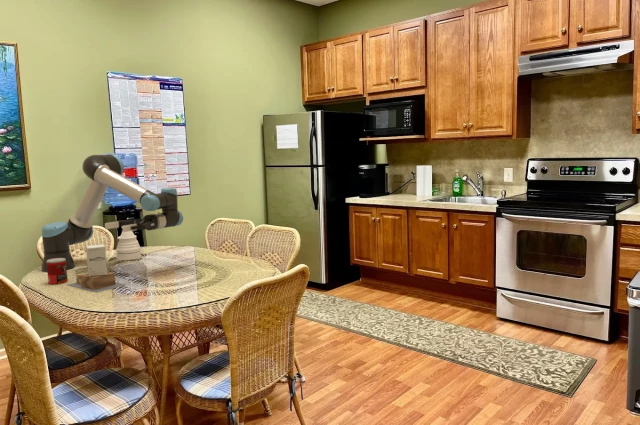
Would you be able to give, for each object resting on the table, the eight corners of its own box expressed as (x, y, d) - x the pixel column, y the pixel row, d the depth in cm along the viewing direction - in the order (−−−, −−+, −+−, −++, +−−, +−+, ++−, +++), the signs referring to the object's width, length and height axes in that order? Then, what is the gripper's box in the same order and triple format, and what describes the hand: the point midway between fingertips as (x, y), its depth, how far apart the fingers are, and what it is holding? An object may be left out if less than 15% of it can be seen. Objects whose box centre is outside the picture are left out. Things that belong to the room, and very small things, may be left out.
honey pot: (111, 259, 272) (109, 227, 269) (125, 254, 284) (123, 223, 282) (132, 260, 269) (130, 227, 267) (145, 255, 281) (143, 224, 279)
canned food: (59, 286, 218) (57, 261, 217) (44, 285, 220) (42, 261, 219) (71, 281, 226) (69, 258, 224) (56, 281, 227) (54, 257, 226)
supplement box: (88, 277, 210) (86, 248, 208) (87, 273, 216) (85, 245, 215) (107, 274, 213) (105, 246, 212) (106, 271, 220) (103, 243, 218)
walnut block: (81, 286, 214) (80, 275, 213) (102, 281, 222) (101, 270, 222) (94, 289, 208) (93, 278, 208) (115, 284, 217) (114, 273, 216)
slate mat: (65, 286, 218) (65, 285, 217) (95, 279, 229) (95, 277, 229) (96, 294, 204) (96, 292, 204) (126, 286, 216) (126, 284, 215)
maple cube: (76, 283, 220) (75, 274, 219) (85, 281, 223) (84, 272, 222) (81, 284, 217) (80, 275, 217) (90, 282, 221) (89, 273, 220)
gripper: (137, 212, 244) (97, 217, 227) (170, 216, 230) (130, 221, 213) (138, 227, 245) (98, 233, 228) (171, 231, 231) (131, 238, 214)
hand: (114, 227), depth 220 cm, fingers open, 13 cm apart
